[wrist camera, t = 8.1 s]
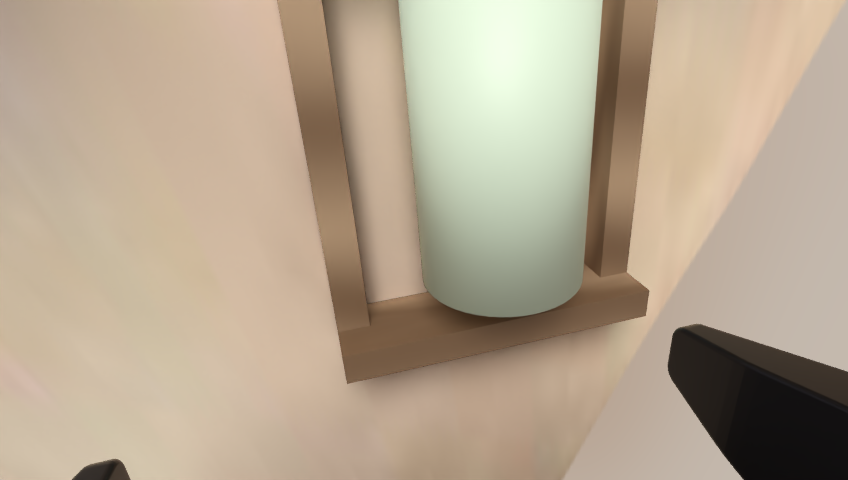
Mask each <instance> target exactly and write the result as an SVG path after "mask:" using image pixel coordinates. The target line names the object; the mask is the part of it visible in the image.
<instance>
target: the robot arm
mask: <svg viewBox="0 0 848 480" xmlns="http://www.w3.org/2000/svg"><path fill="white" fill-rule="evenodd" d="M668 371H669V375H670V377H671V379H672V381H673V382H674V384H675V385H676V387H677V388H678V390H679V391H680V393H681V394H682V395H683V397H684V398H685V400H686V401H687V403H688V404H689V406H690V407H691V409H692V410H693V412H694V413H695V414H696V416H697V417H698V419H699V420H700V422H701V423H702V425H703V426H704V428H705V429H706V430H707V432H708V433H709V435H710V436H711V438H712V439H713V440H714V442H715V444H716V445H717V446H718V448H719V449H720V451H721V452H722V453H723V455H724V456H725V457H726V458H727V460H728V461H729V462H730V464H731V465H732V466H733V467H734V469H735V470H736V471H737V472H738V473H739V475H740V476H741V477H742V478H743V479H744V480H848V372H847V371H844V370H841V369H838V368H834V367H831V366H828V365H825V364H822V363H819V362H816V361H813V360H810V359H806V358H804V357H800V356H797V355H794V354H791V353H788V352H785V351H782V350H779V349H776V348H773V347H769V346H766V345H763V344H760V343H757V342H754V341H751V340H748V339H744V338H742V337H739V336H735V335H732V334H729V333H726V332H723V331H720V330H716V329H714V328H710V327H707V326H704V325H701V324H693V325H689V326H685V327H680V328H678V329H676V330H675V332H674V333H673V336H672V343H671V348H670V354H669V360H668ZM72 480H130V477H129V475H128V473H127V470H126V468H125V466H124V464H123V463H122V462H121V461H120V460H118V459H111V460H107V461H103V462H99V463H94V464H90V465H88V466H86V467H84V468H83V469H82V470H81V471H80V472H79V473H78V474H77V475H76V476H75V477H74V478H73V479H72Z"/></svg>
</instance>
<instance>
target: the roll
mask: <svg viewBox="0 0 848 480" xmlns="http://www.w3.org/2000/svg"><path fill="white" fill-rule="evenodd" d="M398 3H399V15H400V26H401V37H402V48H403V60H404V71H405V82H406V94H407V105H408V116H409V127H410V139H411V150H412V161H413V173H414V184H415V195H416V207H417V218H418V229H419V240H420V252H421V263H422V274H423V282H424V285H425V287H426V289H427V290H428V292H429V293H430V294H431V295H432V296H433V297H434V298H435V299H437V300H438V301H439V302H441V303H443V304H445V305H447V306H449V307H451V308H453V309H456V310H459V311H462V312H465V313H470V314H474V315H480V316H488V317H518V316H527V315H532V314H537V313H541V312H544V311H548V310H550V309H553V308H556V307H558V306H560V305H562V304H563V303H565V302H567V301H568V300H569V299H571V298H572V297H573V296H574V295H575V294H576V293H577V292H578V290H579V289H580V287H581V284H582V280H583V269H584V255H585V241H586V227H587V213H588V199H589V185H590V171H591V157H592V143H593V129H594V115H595V101H596V87H597V73H598V59H599V45H600V31H601V17H602V3H603V0H398Z"/></svg>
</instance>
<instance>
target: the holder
mask: <svg viewBox="0 0 848 480" xmlns="http://www.w3.org/2000/svg"><path fill="white" fill-rule="evenodd" d="M277 2H278V7H279V13H280V18H281V24H282V29H283V35H284V40H285V46H286V51H287V56H288V62H289V67H290V73H291V78H292V84H293V89H294V95H295V100H296V105H297V111H298V116H299V122H300V127H301V133H302V138H303V144H304V149H305V155H306V160H307V165H308V171H309V176H310V182H311V187H312V193H313V198H314V204H315V209H316V214H317V220H318V225H319V231H320V236H321V242H322V247H323V253H324V258H325V264H326V269H327V274H328V280H329V285H330V291H331V296H332V302H333V307H334V313H335V318H336V324H337V329H338V335H339V340H340V346H341V352H342V358H343V363H344V369H345V374H346V380H347V384H349V383H353V382H357V381H362V380H366V379H371V378H375V377H379V376H384V375H388V374H392V373H397V372H401V371H406V370H410V369H414V368H419V367H423V366H428V365H432V364H436V363H441V362H445V361H450V360H454V359H458V358H463V357H467V356H472V355H476V354H480V353H485V352H489V351H493V350H498V349H502V348H507V347H511V346H515V345H520V344H524V343H529V342H533V341H537V340H542V339H546V338H551V337H555V336H559V335H564V334H568V333H573V332H577V331H581V330H586V329H590V328H594V327H599V326H603V325H608V324H612V323H616V322H621V321H625V320H630V319H634V318H638V317H643V316H646V310H647V303H648V296H649V290H648V289H647V288H646V287H644V286H643V285H642V284H641V283H639V282H638V281H637V280H636V279H634V278H633V277H632V276H631V275H629V274H628V273H627V264H628V255H629V246H630V237H631V229H632V220H633V211H634V203H635V194H636V185H637V177H638V168H639V159H640V150H641V142H642V133H643V124H644V116H645V107H646V98H647V90H648V81H649V72H650V63H651V55H652V46H653V37H654V29H655V20H656V11H657V3H658V0H603V3H602V17H601V31H600V45H599V59H598V73H597V87H596V101H595V115H594V129H593V143H592V157H591V171H590V185H589V199H588V213H587V227H586V241H585V255H584V269H583V280H582V284H581V287H580V289H579V290H578V292H577V293H576V294H575V295H574V296H573V297H572V298H571V299H569V300H568V301H567V302H565V303H563V304H562V305H560V306H558V307H556V308H553V309H550V310H548V311H544V312H541V313H537V314H532V315H527V316H518V317H488V316H480V315H474V314H470V313H465V312H462V311H459V310H456V309H453V308H451V307H449V306H447V305H445V304H443V303H441V302H439V301H438V300H437V299H435V298H434V297H433V296H432V295H431V294H430V293H429V292H426V293H421V294H416V295H411V296H406V297H401V298H396V299H391V300H386V301H381V302H376V303H371V304H367V302H366V296H365V289H364V282H363V275H362V269H361V262H360V255H359V248H358V242H357V235H356V228H355V222H354V215H353V208H352V201H351V195H350V188H349V181H348V174H347V168H346V161H345V154H344V148H343V141H342V134H341V127H340V121H339V114H338V107H337V100H336V94H335V87H334V80H333V73H332V67H331V60H330V53H329V47H328V40H327V33H326V26H325V20H324V13H323V6H322V0H277Z"/></svg>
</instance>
